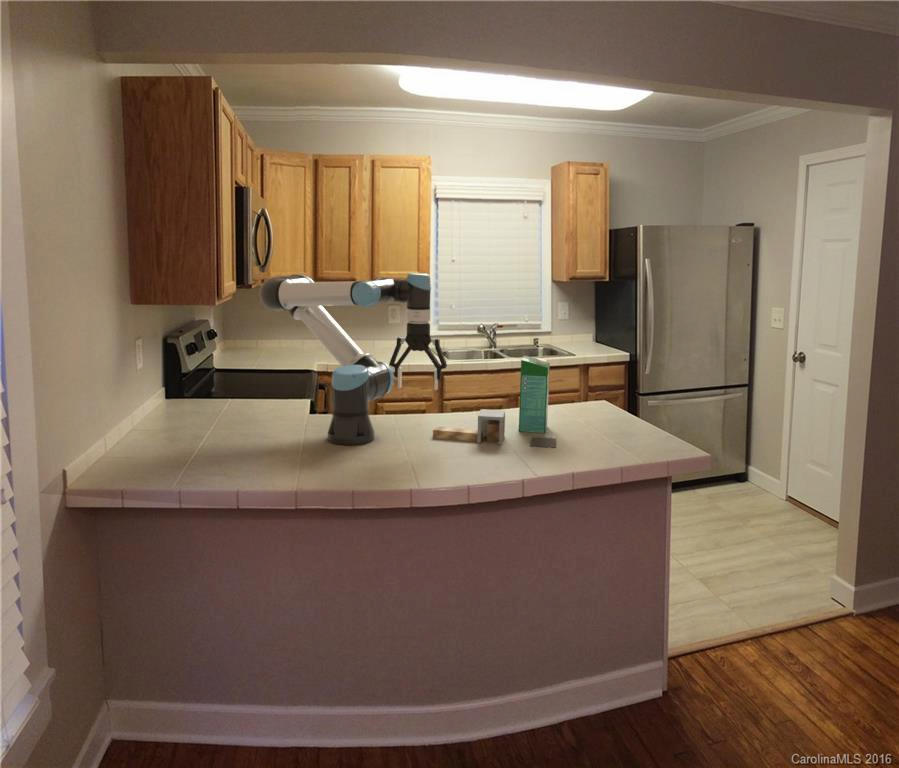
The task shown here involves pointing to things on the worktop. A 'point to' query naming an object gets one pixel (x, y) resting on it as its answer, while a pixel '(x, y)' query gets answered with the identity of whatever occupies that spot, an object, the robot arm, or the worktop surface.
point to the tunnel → (484, 419)
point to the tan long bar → (456, 433)
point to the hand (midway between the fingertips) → (417, 388)
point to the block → (494, 431)
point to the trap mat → (543, 442)
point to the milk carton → (534, 395)
